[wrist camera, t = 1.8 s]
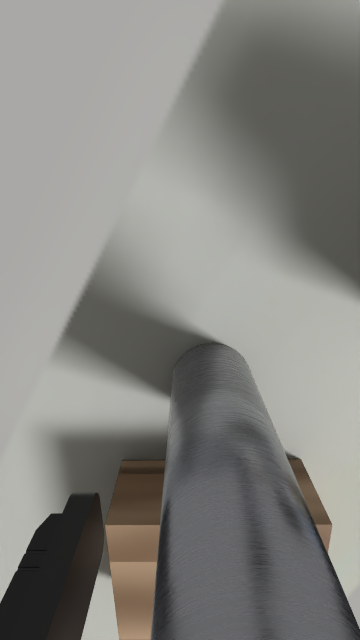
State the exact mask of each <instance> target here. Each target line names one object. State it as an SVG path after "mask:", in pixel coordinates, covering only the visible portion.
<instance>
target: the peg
mask: <svg viewBox="0 0 360 640" xmlns="http://www.w3.org/2000/svg"><path fill="white" fill-rule="evenodd" d="M150 640H360V629H359V626H358V624H357V622H356V619H355V617H354V615H353V612H352V610H351V607H350V605H349V603H348V600H347V598H346V596H345V593H344V591H343V589H342V586H341V584H340V581H339V579H338V577H337V574H336V572H335V570H334V567H333V565H332V563H331V560H330V558H329V555H328V553H327V551H326V548H325V546H324V544H323V541H322V539H321V537H320V534H319V532H318V530H317V527H316V525H315V522H314V520H313V518H312V515H311V513H310V511H309V508H308V506H307V504H306V501H305V499H304V496H303V494H302V492H301V489H300V487H299V485H298V482H297V480H296V478H295V475H294V473H293V471H292V468H291V466H290V463H289V461H288V459H287V456H286V454H285V452H284V449H283V447H282V445H281V442H280V440H279V437H278V435H277V433H276V430H275V428H274V426H273V423H272V421H271V419H270V416H269V414H268V412H267V409H266V407H265V404H264V402H263V400H262V397H261V395H260V393H259V390H258V388H257V386H256V383H255V381H254V379H253V376H252V374H251V371H250V369H249V367H248V365H247V363H246V361H245V359H244V358H243V357H242V356H241V355H240V354H239V353H238V352H237V351H236V350H234V349H232V348H230V347H228V346H225V345H222V344H213V343H211V344H203V345H199V346H196V347H194V348H192V349H190V350H189V351H187V352H186V353H185V354H184V355H183V356H182V357H181V358H180V359H179V360H178V362H177V364H176V366H175V368H174V371H173V377H172V389H171V401H170V413H169V425H168V436H167V448H166V460H165V472H164V484H163V496H162V508H161V520H160V532H159V543H158V555H157V567H156V579H155V591H154V603H153V615H152V627H151V638H150Z"/></svg>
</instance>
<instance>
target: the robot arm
mask: <svg viewBox="0 0 360 640" xmlns="http://www.w3.org/2000/svg"><path fill="white" fill-rule="evenodd" d="M103 544H104V529H103V521H102V513H101V505H100V497H99V494H98V493H72V494H71V495H70V497H69V499H68V502H67V504H66V506H65V509H64V511H63V513H62V514H50V516H49V517H48V518H47V519H46V520H45V521H44V522H43V523H42V524H41V525H40V526H39V528H38V529H37V530H36V531H35V533H34V535H33V537H32V539H31V542H30V544H29V546H28V548H27V550H26V554H24V556H23V558H22V560H21V562H20V564H19V566H18V570H17V571H16V572H15V574H14V576H13V578H12V580H11V582H10V584H9V587H8V589H7V591H6V593H5V595H4V597H3V599H2V601H1V603H0V640H81V637H82V633H83V629H84V625H85V621H86V617H87V613H88V609H89V605H90V601H91V597H92V593H93V589H94V585H95V581H96V577H97V573H98V569H99V565H100V561H101V557H102V552H103Z"/></svg>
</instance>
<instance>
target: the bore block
mask: <svg viewBox="0 0 360 640" xmlns="http://www.w3.org/2000/svg"><path fill="white" fill-rule="evenodd" d="M288 461H289V463H290V466H291V468H292V471H293V473H294V475H295V478H296V480H297V482H298V485H299V487H300V489H301V492H302V494H303V496H304V499H305V501H306V504H307V506H308V508H309V511H310V513H311V515H312V518H313V520H314V522H315V525H316V527H317V530H318V532H319V534H320V537H321V539H322V541H323V544H324V546H325V548H326V551H327V553H328V548H329V542H330V535H331V529H332V523H331V521H330V519H329V517H328V515H327V513H326V511H325V509H324V506H323V504H322V502H321V500H320V498H319V496H318V494H317V492H316V490H315V488H314V486H313V483H312V481H311V479H310V477H309V475H308V473H307V471H306V469H305V467H304V465H303V463H302V460H301V459H288ZM164 472H165V460H134V461H122V463H121V467H120V470H119V474H118V478H117V482H116V486H115V489H114V493H113V497H112V501H111V505H110V508H109V512H108V516H107V520H106V523H105V529H106V537H107V545H108V553H109V561H110V569H111V577H112V585H113V593H114V601H115V609H116V617H117V625H118V633H119V640H150V638H151V627H152V615H153V603H154V591H155V579H156V567H157V555H158V543H159V532H160V520H161V508H162V496H163V484H164Z"/></svg>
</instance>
